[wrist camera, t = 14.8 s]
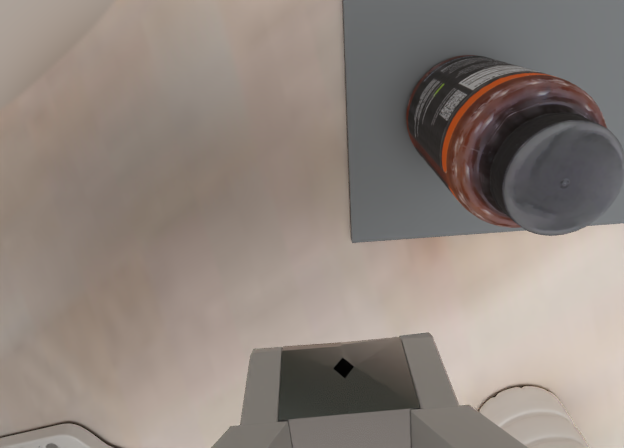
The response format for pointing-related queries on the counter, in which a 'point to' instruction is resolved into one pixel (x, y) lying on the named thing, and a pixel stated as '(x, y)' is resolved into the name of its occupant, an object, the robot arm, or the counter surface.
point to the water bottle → (534, 418)
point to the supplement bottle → (516, 144)
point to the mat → (435, 49)
